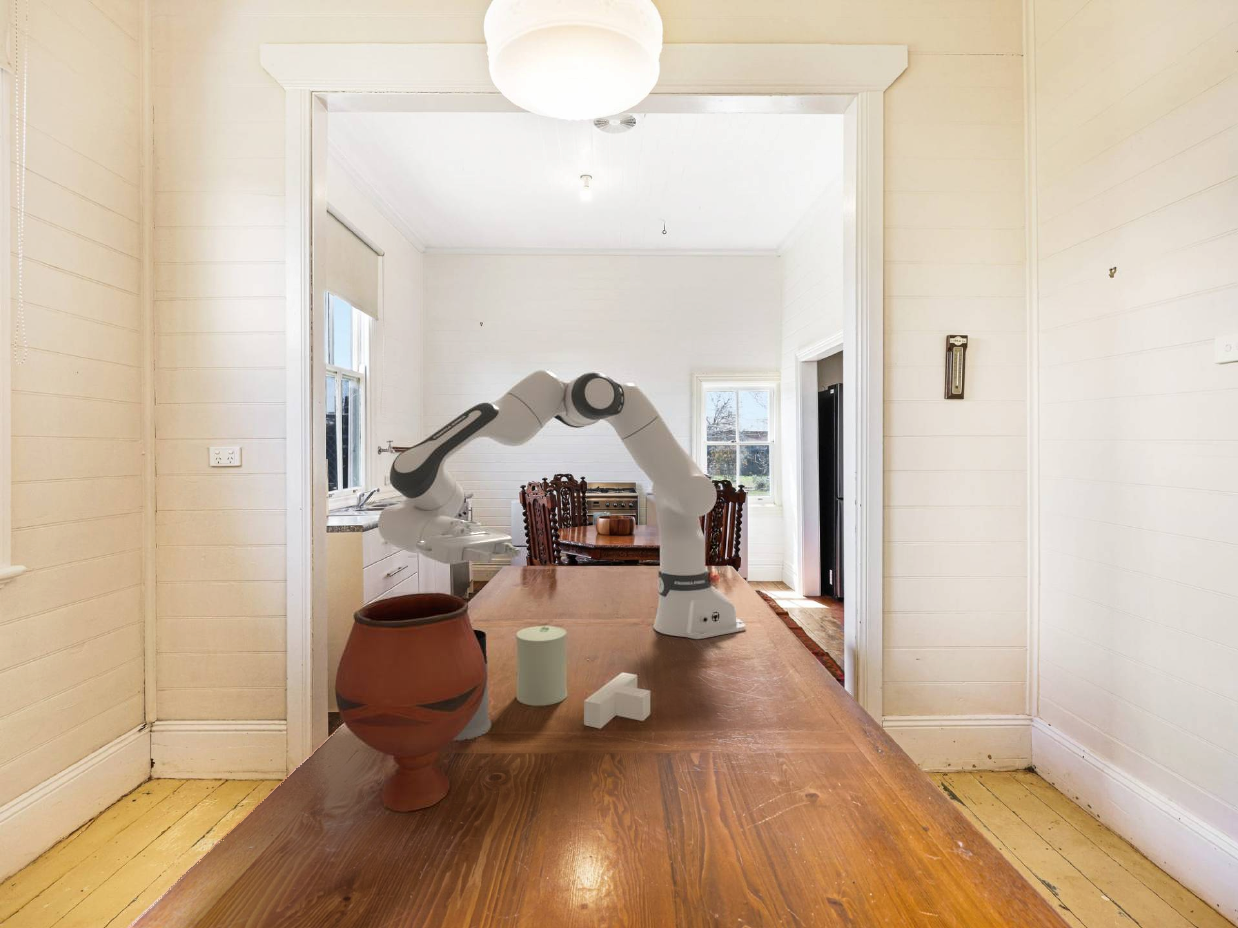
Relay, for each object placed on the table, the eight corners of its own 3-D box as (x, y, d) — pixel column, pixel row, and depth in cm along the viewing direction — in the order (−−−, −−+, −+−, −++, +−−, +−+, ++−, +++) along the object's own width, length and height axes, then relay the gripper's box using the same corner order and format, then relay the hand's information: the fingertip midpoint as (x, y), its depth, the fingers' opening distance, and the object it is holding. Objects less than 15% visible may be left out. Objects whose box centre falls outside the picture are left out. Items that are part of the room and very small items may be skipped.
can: (571, 686, 119) (570, 623, 119) (562, 707, 110) (561, 638, 109) (523, 684, 120) (522, 622, 119) (510, 705, 111) (509, 637, 110)
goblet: (435, 743, 97) (432, 581, 96) (519, 786, 85) (517, 602, 84) (308, 798, 82) (304, 608, 81) (388, 859, 70) (384, 637, 69)
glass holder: (500, 719, 105) (499, 630, 105) (456, 760, 91) (454, 658, 91) (453, 713, 107) (452, 626, 107) (403, 753, 94) (402, 653, 93)
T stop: (584, 724, 103) (584, 700, 103) (622, 693, 115) (622, 672, 115) (628, 734, 99) (628, 709, 99) (662, 701, 112) (662, 679, 112)
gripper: (412, 527, 116) (473, 544, 110) (480, 521, 134) (535, 535, 129) (407, 561, 116) (467, 579, 110) (475, 550, 134) (530, 566, 129)
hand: (504, 556), depth 119 cm, fingers open, 8 cm apart
